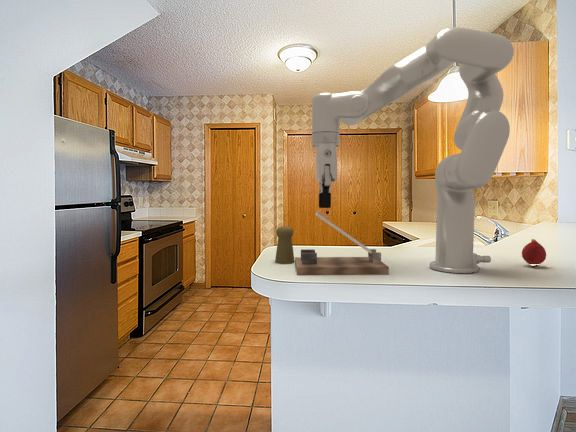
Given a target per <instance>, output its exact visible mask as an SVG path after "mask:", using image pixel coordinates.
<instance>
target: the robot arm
mask: <svg viewBox="0 0 576 432" xmlns="http://www.w3.org/2000/svg"><path fill="white" fill-rule="evenodd" d="M514 49H515V48H514V46H513V43H512V42H511V40H510V39H508V38H507V37H505V35H504V36H503V35H501V34H498V33H492V32H487V31H484V30H483V31H482V30H479V29H478V30H477V29H473V28H472V29H471V28H466V27H459V26H458V27H456V26H453V27H452V26H451V27H445V28H443V29H441V30H439V31H438V32H437V33H436V34H435V35H434V36H433V38H432V39H430V40H429V41H428V42H427V43H426V44H424V45H423V46H421V47H419V48H417V49H415V50H414V51H413V52H411V53H409V54H408V55H407V56H404V57H402V59H400V60H398V61H396V62H395V63H393V64H392V65H390V66H389V67H388V68H386V69H385V71H383V72H382V73H381V75H379V76H378V78H376V79H375V80H374V81H373V82H371V83H370V84H369V85H367V86H366V87H365V88H363V89H362V90H349V91H345V92H338V93H335V92H334V93H333V92H319V93H317V94H314V96H313V97H312V100H311V147H314V148H315V180H316V182H317V183H318V184H319V185H318V188H319V190H318V191H319V193H318V208H320V209H331V207H332V193H331V189H332V183H335V182H337V181H338V156H337V155H338V154H337V152H338V151H337V147H339V146H340V123H342V124H343V125H345V126H355V125H358V124H359V123H361V122H362V121H364V120H366V119H367V118H369V117H370V116H372V115H374V114H376V113H377V112H379V111H380V110H381V109H384V108H385V107H386V106H388V105H390V104H391V103H393V102H395V101H397V100H399V99H401V98H403V96H405V95H408V93H411V92H412V91H413V90H415V89H416V88H417V89H418V87H419V86H421V85H423V84H425V83H426V82H428V81H429V80H432V79H433V78H434V77H436V76H438V75H439V74H441V73H442V72H444V71H446V70H447V69H448V68H450V67H451V66H452V65H453V64H455V63H457V64H459V66H458V70H459V71H458V72H459V76H460V79H461V80H462V81H463V83H464V84H465V86H466V89H467V92H468V95H467V100H466V103H465V107H464V109H463V112H462V113H461V115H460V116H461V117H460V118H459V121H458V123H457V126H456V128H455V130H454V134H453V142H454V145H455V147H456V148H457V149H458V150H459V151H461V152H460V153H455V154H451V155H447V156H446V157H444V158H443V159H442V160H441V161H440V162H439V163H438V164H437V165H436V169H435V172H434V173H435V174H434V181H435V182H434V183H435V190H436V224H435V225H436V228H435V229H436V230H435V233H436V235H435V257H434V258H435V259H434V260H432V261H430V262H429V265H428V266H429V268H431V269H432V270H435V271H438V272H444V273H450V272H451V273H453V274H473V273H472V272H474V273H478V272H479V270H480V266H479V264H480V263H483V264H484V263H491V262H492V257H491V256H490V255H479V254H477V253H476V252H474V241H475V240H474V237H475V213H476V201H475V195H474V191H473V190H477V189H480V188H482V187H484V186H485V185H487V184H488V183H489V181H490V180H491V179H492V177H493V176H494V174H495V171H496V170H497V167H498V164H499V163H500V159H501V157H502V155H503V154H504V150H505V149H506V145H507V144H508V141H509V137H510V132H511V131H510V129H511V126H510V125H511V124H510V122H509V119H508V118H507V116H506V115H505V114H504V113H502V112H501V107H502V105H503V102H504V90H503V89H504V88H503V86H502V84H501V82H500V80H499V77H498V76H497V73H499V72H501V71H503V70H504V69H505V68H507V67H508V66H509V64H510V63H511V62H512V60H513V59H514V58H513V57H514V53H515V50H514Z"/></svg>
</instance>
